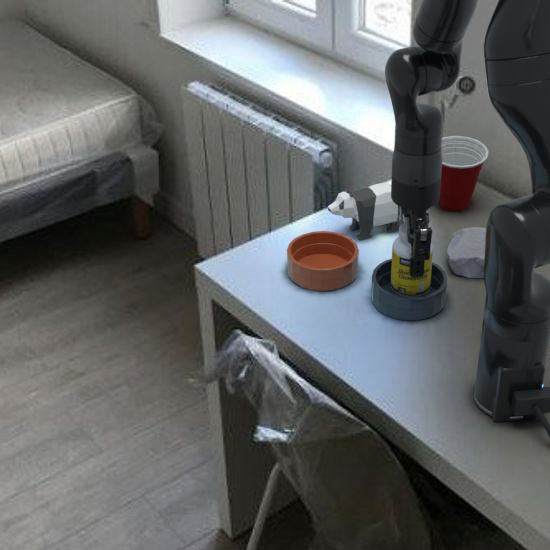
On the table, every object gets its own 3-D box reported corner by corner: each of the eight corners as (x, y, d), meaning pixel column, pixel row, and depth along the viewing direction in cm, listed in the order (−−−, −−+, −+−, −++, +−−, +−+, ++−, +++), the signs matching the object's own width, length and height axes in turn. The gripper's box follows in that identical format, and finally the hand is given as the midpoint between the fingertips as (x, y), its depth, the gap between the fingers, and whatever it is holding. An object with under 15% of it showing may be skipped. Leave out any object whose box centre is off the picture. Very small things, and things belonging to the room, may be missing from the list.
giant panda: (393, 216, 183) (395, 171, 178) (406, 230, 179) (409, 185, 173) (322, 232, 179) (322, 187, 174) (334, 247, 175) (334, 202, 169)
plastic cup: (428, 219, 182) (432, 163, 175) (423, 190, 191) (426, 136, 184) (486, 219, 181) (493, 162, 174) (478, 190, 190) (484, 135, 183)
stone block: (447, 284, 167) (507, 280, 164) (444, 261, 165) (504, 256, 162) (451, 249, 177) (507, 245, 174) (448, 226, 175) (505, 221, 172)
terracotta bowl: (363, 288, 164) (363, 267, 161) (291, 294, 163) (291, 272, 161) (351, 249, 174) (352, 228, 171) (284, 254, 173) (283, 233, 171)
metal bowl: (453, 318, 157) (455, 295, 154) (378, 324, 156) (379, 301, 153) (435, 275, 167) (437, 254, 164) (365, 281, 166) (366, 259, 163)
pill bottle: (386, 296, 158) (388, 235, 151) (395, 274, 163) (397, 215, 156) (425, 302, 156) (429, 241, 150) (433, 280, 161) (437, 220, 155)
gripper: (383, 152, 153) (380, 242, 163) (401, 197, 141) (397, 290, 151) (430, 149, 154) (424, 238, 163) (452, 193, 142) (445, 286, 151)
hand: (411, 263), depth 157 cm, fingers closed on pill bottle, 6 cm apart
